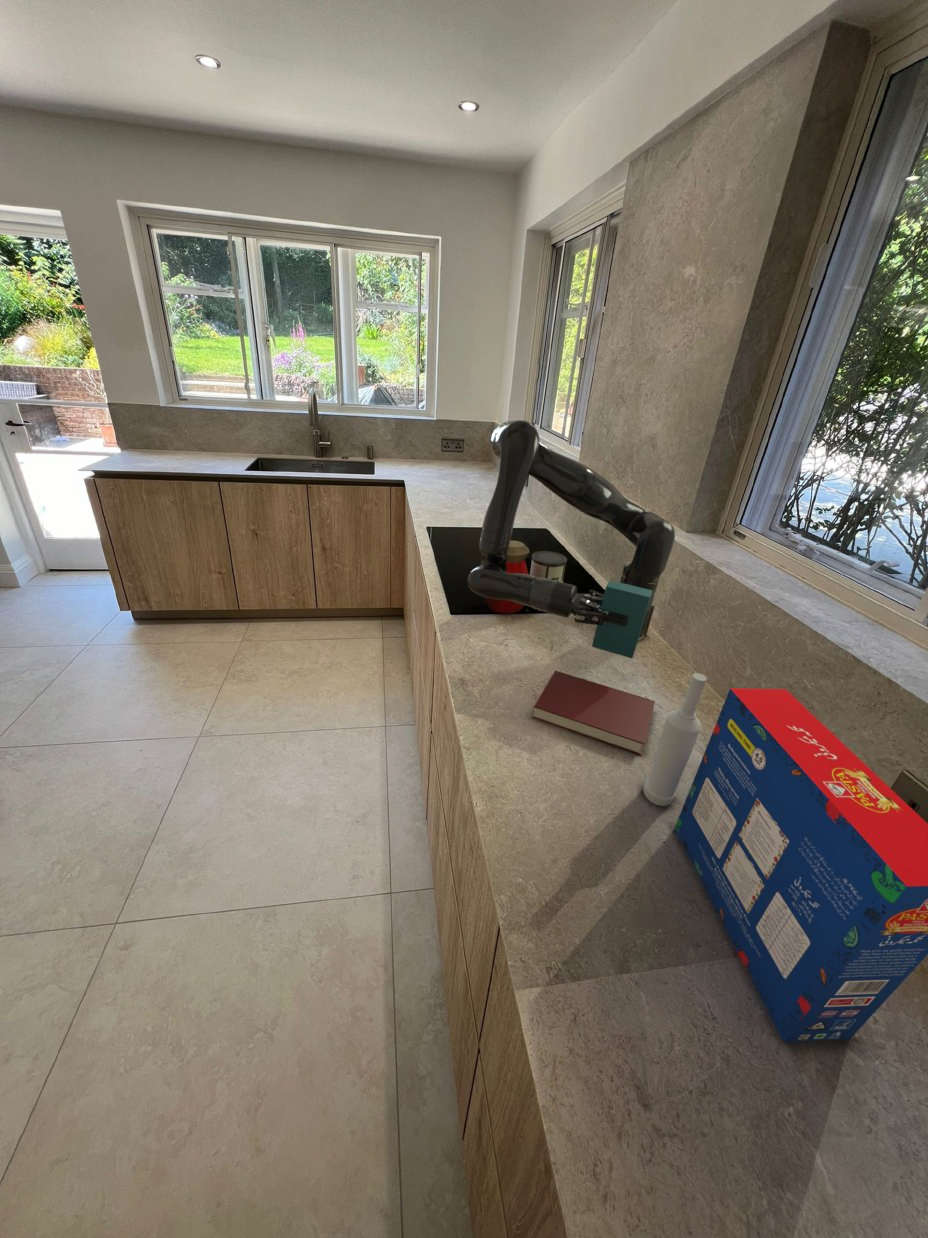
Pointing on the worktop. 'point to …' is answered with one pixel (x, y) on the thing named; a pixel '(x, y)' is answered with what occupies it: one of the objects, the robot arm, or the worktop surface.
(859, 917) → the pasta box
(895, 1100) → the worktop surface
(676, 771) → the bottle
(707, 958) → the worktop surface
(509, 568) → the red lidded jar
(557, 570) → the coffee can
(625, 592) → the teal rectangular block
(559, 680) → the oxblood cookbook
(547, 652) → the worktop surface
